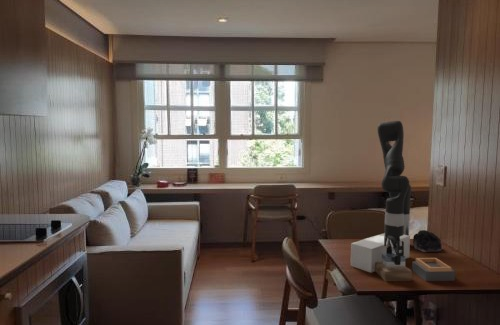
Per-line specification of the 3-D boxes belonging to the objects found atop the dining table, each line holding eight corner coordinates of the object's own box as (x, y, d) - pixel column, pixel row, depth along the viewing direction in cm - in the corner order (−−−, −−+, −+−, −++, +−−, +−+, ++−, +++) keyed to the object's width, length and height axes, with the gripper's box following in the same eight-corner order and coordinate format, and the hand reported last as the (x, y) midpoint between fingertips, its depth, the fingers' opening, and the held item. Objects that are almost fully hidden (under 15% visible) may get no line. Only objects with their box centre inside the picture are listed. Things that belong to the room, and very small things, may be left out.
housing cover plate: (381, 257, 159) (381, 253, 159) (400, 257, 159) (400, 253, 159) (386, 261, 154) (386, 257, 154) (405, 261, 154) (405, 256, 154)
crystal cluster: (443, 255, 185) (446, 235, 185) (414, 250, 189) (416, 231, 189) (438, 249, 198) (441, 231, 197) (411, 245, 202) (413, 227, 202)
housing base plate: (381, 264, 159) (381, 257, 159) (399, 264, 159) (400, 257, 159) (386, 269, 154) (386, 261, 154) (405, 268, 154) (405, 261, 154)
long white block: (371, 273, 161) (371, 248, 160) (350, 266, 169) (351, 243, 168) (409, 257, 181) (410, 235, 180) (389, 252, 189) (389, 231, 188)
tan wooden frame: (412, 270, 163) (412, 258, 163) (438, 269, 164) (439, 257, 163) (425, 281, 151) (426, 268, 151) (454, 280, 152) (455, 267, 151)
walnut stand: (375, 271, 162) (375, 262, 162) (400, 270, 163) (400, 262, 162) (385, 281, 151) (385, 271, 151) (411, 280, 152) (412, 271, 151)
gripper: (378, 219, 162) (378, 255, 163) (392, 227, 148) (391, 267, 149) (395, 219, 162) (394, 255, 164) (410, 227, 148) (409, 267, 149)
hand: (393, 261), depth 156 cm, fingers open, 8 cm apart
